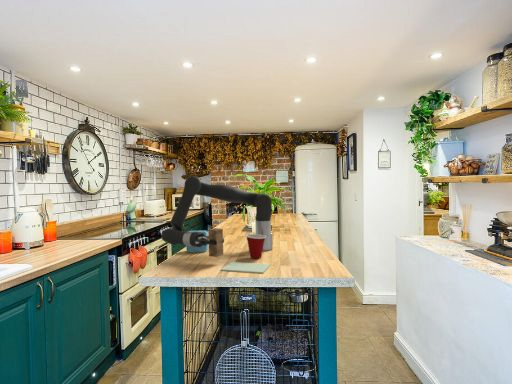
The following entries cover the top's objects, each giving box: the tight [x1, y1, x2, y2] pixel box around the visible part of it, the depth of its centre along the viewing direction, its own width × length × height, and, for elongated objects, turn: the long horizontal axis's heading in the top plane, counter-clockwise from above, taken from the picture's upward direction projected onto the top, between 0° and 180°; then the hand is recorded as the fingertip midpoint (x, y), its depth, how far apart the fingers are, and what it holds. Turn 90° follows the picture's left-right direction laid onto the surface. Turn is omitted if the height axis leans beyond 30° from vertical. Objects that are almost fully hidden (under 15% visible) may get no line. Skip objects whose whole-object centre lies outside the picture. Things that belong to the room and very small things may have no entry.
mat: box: [220, 261, 272, 274], centre depth 149 cm, size 20×14×1 cm
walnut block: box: [207, 227, 224, 258], centre depth 158 cm, size 5×5×13 cm
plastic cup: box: [245, 233, 266, 260], centre depth 170 cm, size 11×11×12 cm
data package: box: [185, 230, 209, 253], centre depth 188 cm, size 12×4×12 cm, turn 86°
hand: (220, 241), depth 156 cm, fingers closed on walnut block, 5 cm apart
